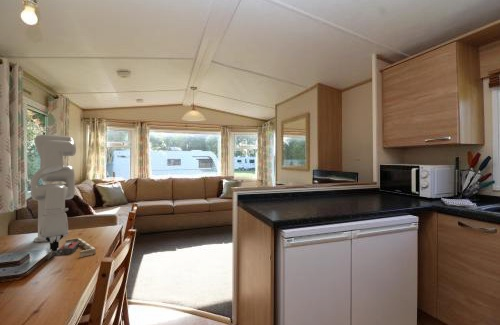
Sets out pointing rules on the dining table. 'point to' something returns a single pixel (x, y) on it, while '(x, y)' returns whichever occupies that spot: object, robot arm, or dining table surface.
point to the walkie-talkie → (65, 249)
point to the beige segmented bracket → (88, 247)
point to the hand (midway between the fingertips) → (54, 250)
